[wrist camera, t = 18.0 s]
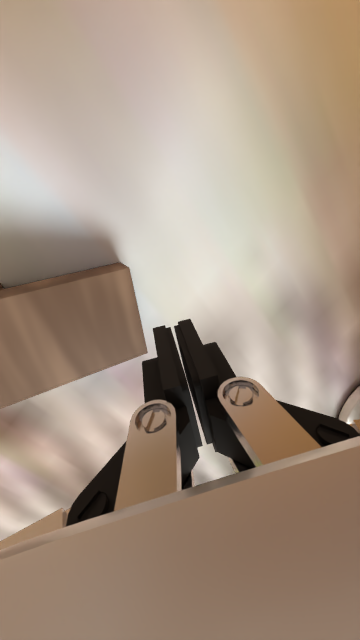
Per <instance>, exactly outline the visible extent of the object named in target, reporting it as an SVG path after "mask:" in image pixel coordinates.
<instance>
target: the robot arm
mask: <svg viewBox="0 0 360 640" xmlns="http://www.w3.org/2000/svg"><path fill="white" fill-rule="evenodd" d="M174 328H175V332H176V336H177V341H178V345H179V349H180V353H181V357H182V361H183V366H184V370H185V373H184V370H183V367H182V364H181V360H180V357H179V354H178V350H177V347H176V344H175V341H174V337H173V334H172V331H171V328H170V327H169V328H165V325H164V326H160V327H156V328H153V333H154V339H155V345H156V351H157V356H158V357H157V358H153V359H150V360H146V361H143V362H142V369H143V384H144V399H145V404H143V405H141V406H140V407H139V408H138V409H137V410H136V411H135V412H134V414H133V415H132V418H131V420H130V425H129V431H128V436H127V441H126V442H125V443H124V444H123V446H122V447H121V448H120V449H119V450H118V451H117V452H116V454H115V455H114V456H113V457H112V458H111V459H110V460H109V462H108V463H107V464H106V465H105V466H104V467H103V468H102V470H101V471H100V472H99V473H98V474H97V475H96V477H95V478H94V479H93V480H92V481H91V482H90V483H89V485H88V486H87V487H86V488H85V489H84V490H83V491H82V493H81V494H80V495H79V496H78V497H77V499H76V500H75V502H74V503H73V504H72V507H71V508H69V509H68V510H66V511H65V510H64V509H63V508H61V509H59V510H57V511H55V512H54V513H52V514H50V515H48V516H46V517H44V518H43V519H41V520H39V521H37V522H35V523H33V524H31V525H30V526H28V527H26V528H24V529H22V530H20V531H19V532H17V533H15V534H13V535H11V536H9V537H7V538H6V539H4V540H2V541H0V640H360V386H359V387H358V388H356V389H355V391H354V392H353V393H352V394H351V395H350V397H349V398H348V399H347V401H346V402H345V404H344V406H343V407H342V410H341V412H340V415H339V419H336V418H333V417H330V416H327V415H323V414H320V413H317V412H314V411H310V410H307V409H304V408H300V407H297V406H294V405H290V404H287V403H284V402H280V401H277V400H275V399H274V398H273V397H272V396H271V395H270V394H269V393H268V392H267V391H266V390H265V389H264V388H263V386H262V385H261V384H259V383H258V382H257V381H255V380H253V379H251V378H246V377H236V375H235V374H234V372H233V370H232V369H231V367H230V365H229V364H228V362H227V360H226V358H225V357H224V355H223V353H222V352H221V350H220V348H219V347H218V345H217V343H216V342H213V343H209V344H205V345H203V344H202V342H201V340H200V338H199V336H198V334H197V332H196V330H195V328H194V326H193V324H192V322H191V320H190V319H187V320H183V321H179V322H178V325H177V326H174ZM185 374H186V377H185ZM186 378H187V380H186ZM187 381H188V384H187ZM188 385H189V387H188ZM189 388H190V391H191V394H192V397H193V401H194V404H195V407H196V410H197V414H198V417H199V420H200V423H201V427H202V430H203V433H204V436H205V439H206V443H207V444H210V443H213V446H214V449H215V452H219V453H221V454H223V455H225V456H227V457H228V458H229V461H230V464H231V466H232V468H233V469H234V471H235V473H236V474H233V475H229V476H226V477H223V478H220V479H216V480H213V481H210V482H207V483H203V484H200V485H197V486H195V485H194V474H193V470H192V469H193V467H194V466H195V464H196V462H197V461H198V459H199V453H198V450H197V447H200V446H203V445H202V441H201V437H200V433H199V429H198V425H197V420H196V416H195V412H194V408H193V404H192V400H191V395H190V391H189Z"/></svg>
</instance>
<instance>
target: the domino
mask: <svg viewBox="0 0 360 640" xmlns="http://www.w3.org/2000/svg"><path fill="white" fill-rule="evenodd" d="M146 353H148V352H147V347H146V343H145V338H144V334H143V329H142V324H141V320H140V315H139V311H138V306H137V301H136V297H135V292H134V288H133V283H132V278H131V274H130V269H129V267H127V266H125V265H124V264H122V263H121V262H119V263H115V264H111V265H106V266H102V267H97V268H93V269H89V270H84V271H80V272H76V273H71V274H67V275H63V276H58V277H54V278H50V279H45V280H41V281H36V282H32V283H28V284H23V285H19V286H15V287H10V288H6V289H2V290H0V409H1V408H4V407H6V406H9V405H12V404H14V403H17V402H20V401H22V400H25V399H28V398H30V397H33V396H35V395H38V394H41V393H43V392H46V391H49V390H51V389H54V388H56V387H59V386H62V385H64V384H67V383H70V382H72V381H75V380H78V379H80V378H83V377H85V376H88V375H91V374H93V373H96V372H99V371H101V370H104V369H107V368H109V367H112V366H114V365H117V364H120V363H122V362H125V361H128V360H130V359H133V358H135V357H138V356H141V355H143V354H146Z"/></svg>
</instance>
